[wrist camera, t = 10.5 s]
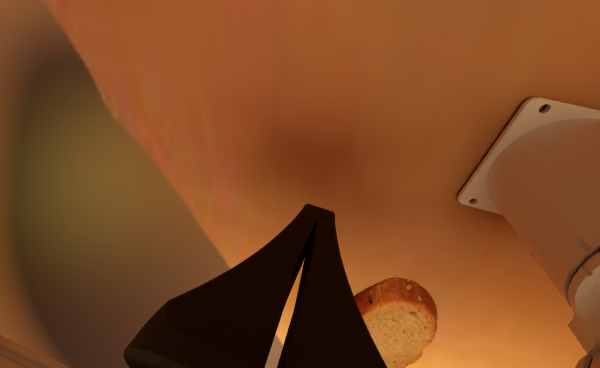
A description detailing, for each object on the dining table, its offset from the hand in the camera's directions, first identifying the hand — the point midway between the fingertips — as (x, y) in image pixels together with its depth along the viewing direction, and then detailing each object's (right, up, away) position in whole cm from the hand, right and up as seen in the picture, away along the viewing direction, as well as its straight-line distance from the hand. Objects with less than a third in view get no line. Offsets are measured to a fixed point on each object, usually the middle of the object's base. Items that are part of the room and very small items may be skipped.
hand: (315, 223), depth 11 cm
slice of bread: (+8, -17, +20) cm, 27 cm away
